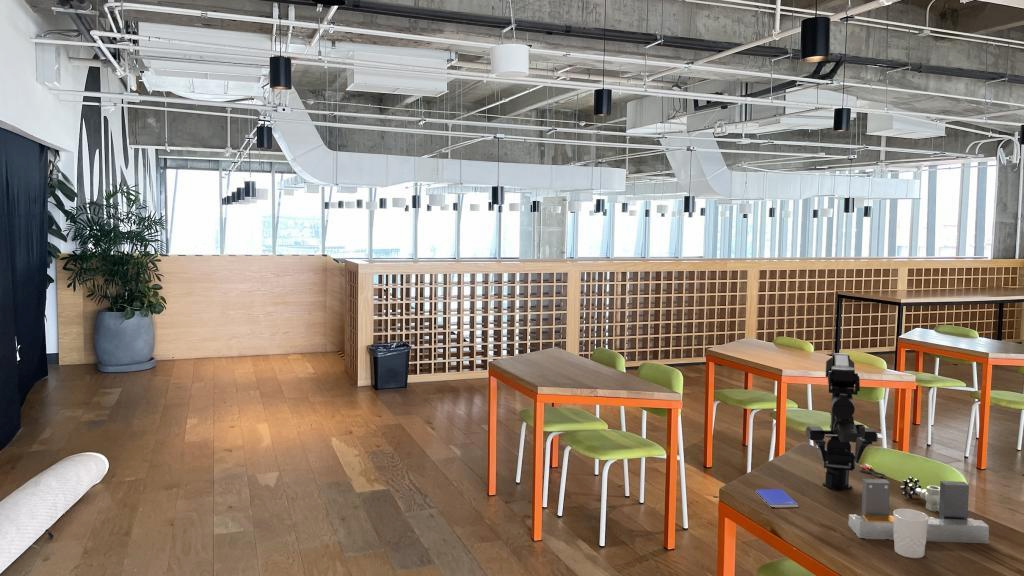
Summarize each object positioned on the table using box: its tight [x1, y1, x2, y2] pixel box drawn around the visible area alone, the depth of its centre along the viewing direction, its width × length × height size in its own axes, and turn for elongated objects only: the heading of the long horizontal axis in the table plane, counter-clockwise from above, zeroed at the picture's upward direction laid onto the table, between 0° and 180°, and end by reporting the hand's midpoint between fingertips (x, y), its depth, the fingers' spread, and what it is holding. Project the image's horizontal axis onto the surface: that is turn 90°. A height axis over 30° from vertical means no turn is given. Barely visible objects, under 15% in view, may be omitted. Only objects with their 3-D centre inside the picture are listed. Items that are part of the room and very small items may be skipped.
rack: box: [847, 480, 990, 544], centre depth 205 cm, size 10×32×14 cm, turn 83°
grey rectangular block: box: [861, 478, 891, 516], centre depth 208 cm, size 3×6×13 cm, turn 84°
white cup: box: [892, 508, 929, 559], centre depth 194 cm, size 8×8×10 cm
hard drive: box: [755, 488, 799, 508], centre depth 232 cm, size 2×8×12 cm
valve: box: [899, 476, 940, 512], centre depth 226 cm, size 7×7×12 cm
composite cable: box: [859, 463, 887, 478], centre depth 254 cm, size 10×5×2 cm, turn 11°
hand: (840, 462), depth 225 cm, fingers open, 9 cm apart
